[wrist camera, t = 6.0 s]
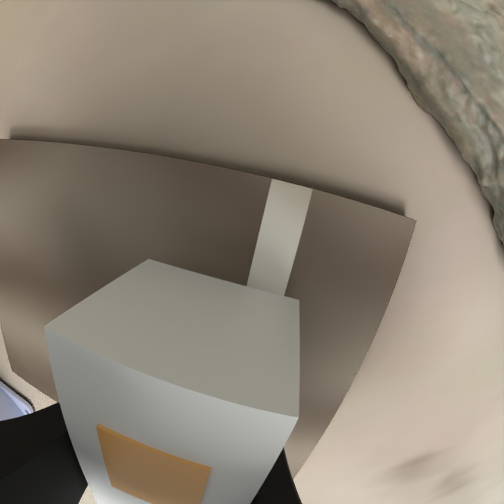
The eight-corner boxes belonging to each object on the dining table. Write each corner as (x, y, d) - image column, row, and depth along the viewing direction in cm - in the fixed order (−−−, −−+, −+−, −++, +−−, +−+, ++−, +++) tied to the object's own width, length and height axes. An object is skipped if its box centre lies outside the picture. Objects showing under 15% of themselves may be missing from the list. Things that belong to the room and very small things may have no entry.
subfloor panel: (289, 471, 13) (288, 485, 12) (20, 363, 14) (11, 371, 13) (405, 216, 9) (417, 221, 8) (10, 139, 10) (-5, 139, 9)
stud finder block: (232, 480, 11) (212, 558, 6) (142, 451, 11) (104, 520, 7) (299, 299, 8) (299, 422, 4) (148, 259, 9) (41, 328, 4)
